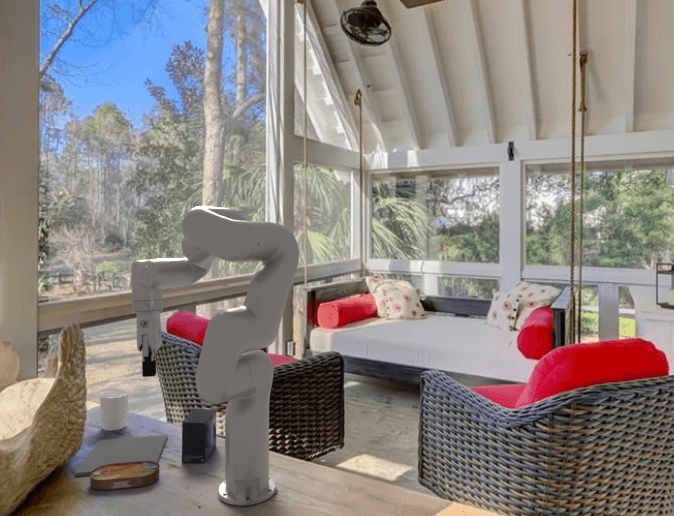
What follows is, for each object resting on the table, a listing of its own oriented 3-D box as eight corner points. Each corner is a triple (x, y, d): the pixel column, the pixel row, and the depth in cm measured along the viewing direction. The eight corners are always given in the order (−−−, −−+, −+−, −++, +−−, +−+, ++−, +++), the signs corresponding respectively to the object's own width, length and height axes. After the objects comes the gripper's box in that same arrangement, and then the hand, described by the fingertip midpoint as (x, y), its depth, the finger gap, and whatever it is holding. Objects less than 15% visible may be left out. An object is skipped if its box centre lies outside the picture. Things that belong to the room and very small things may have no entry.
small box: (206, 463, 123) (206, 422, 122) (180, 463, 123) (180, 422, 122) (217, 446, 133) (217, 408, 133) (194, 446, 133) (193, 408, 133)
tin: (162, 459, 119) (156, 472, 111) (162, 472, 119) (156, 486, 111) (96, 464, 116) (84, 478, 108) (96, 477, 116) (84, 492, 108)
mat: (155, 469, 119) (155, 466, 119) (75, 476, 116) (75, 472, 116) (167, 438, 139) (167, 435, 139) (99, 442, 135) (99, 439, 135)
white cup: (111, 433, 142) (110, 399, 142) (94, 428, 146) (93, 395, 146) (134, 425, 149) (134, 392, 149) (117, 420, 153) (117, 388, 153)
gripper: (158, 308, 122) (160, 382, 123) (166, 303, 137) (168, 368, 137) (126, 310, 121) (128, 384, 121) (138, 304, 136) (139, 370, 136)
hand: (149, 375), depth 129 cm, fingers closed
